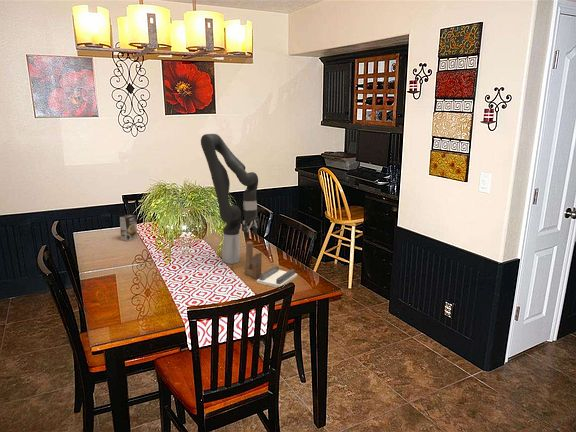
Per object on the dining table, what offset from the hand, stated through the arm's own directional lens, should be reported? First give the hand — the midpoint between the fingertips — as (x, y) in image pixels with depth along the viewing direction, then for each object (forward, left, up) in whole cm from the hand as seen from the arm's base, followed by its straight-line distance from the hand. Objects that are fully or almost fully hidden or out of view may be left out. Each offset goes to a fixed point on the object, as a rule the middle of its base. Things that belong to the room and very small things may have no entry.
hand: (250, 236), depth 248 cm
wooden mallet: (+10, -13, -18) cm, 24 cm away
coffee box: (-97, +1, -18) cm, 99 cm away
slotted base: (+24, -11, -17) cm, 31 cm away
